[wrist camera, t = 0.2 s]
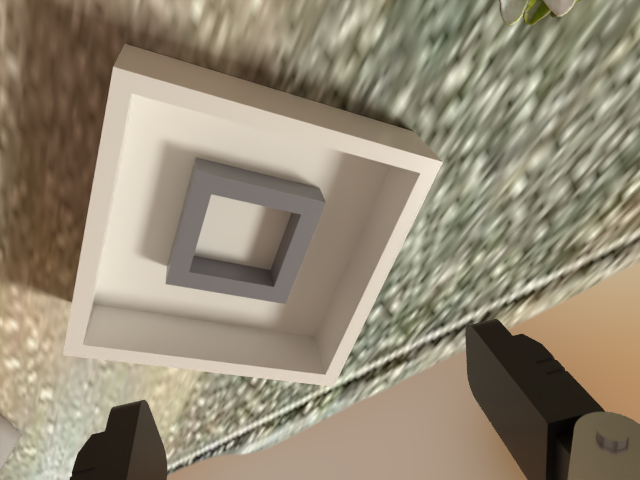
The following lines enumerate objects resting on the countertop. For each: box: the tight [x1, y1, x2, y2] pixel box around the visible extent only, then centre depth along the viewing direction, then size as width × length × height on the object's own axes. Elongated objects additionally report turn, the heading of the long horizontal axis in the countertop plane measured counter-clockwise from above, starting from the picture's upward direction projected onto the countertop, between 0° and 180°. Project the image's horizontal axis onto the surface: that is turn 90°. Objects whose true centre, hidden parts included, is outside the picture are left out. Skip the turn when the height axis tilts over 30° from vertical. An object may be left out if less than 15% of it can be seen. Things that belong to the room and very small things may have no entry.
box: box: [63, 44, 443, 387], centre depth 34 cm, size 18×18×5 cm
